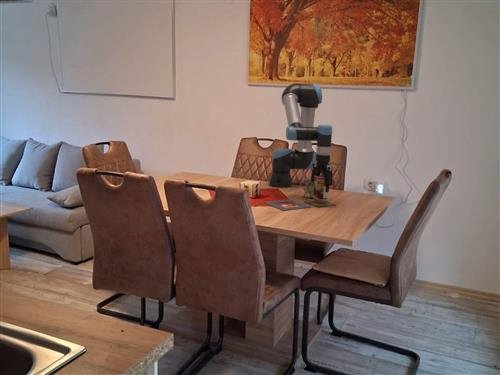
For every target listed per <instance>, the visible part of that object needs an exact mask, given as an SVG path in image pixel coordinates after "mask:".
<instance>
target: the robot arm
mask: <svg viewBox="0 0 500 375" xmlns="http://www.w3.org/2000/svg"><path fill="white" fill-rule="evenodd" d="M322 101H323V91H322V87H321V85H319V84H317V83H316V84H315V83H297V82H296V83H291V84H289V85H288V86H286V87H285V88H284V90H283V91H282V94H281V102H282V103H281V104H282V105H283V106H284V110H285V115H286V120H287V124H288V126H287V127H286V129H285V138H286V140H288V141H293V142H294V141H297V146H296V147H295V148H294V150H292V148H278V149H275V150H273V152H272V153H273V154H272V166H271V170H272V171H271V175H270V178H269V181H268V186H270V187H274V188H290V187H293V180H292V176H291V170H303V171H305V170H311V176H310V178H311V181H313V188H314V179H313V178H314V176H315V175H316V176H320V175H323V177H324V178H325V179H324V182H325V185H324V193H323V198H329V192H330V186H333V184H334V183H333V168H334V167H333V166H330V164H329V162H330V161H331V153H332V151H331V150H332V138H333V137H332V136H333V126H332V125H331V124H318V126H315V116H316V109H319V105H322ZM299 108H300V110H299ZM313 142H316V151H314V148H313V147H312V145H313Z"/></svg>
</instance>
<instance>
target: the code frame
mask: <svg viewBox="0 0 500 375" xmlns="http://www.w3.org/2000/svg"><path fill="white" fill-rule="evenodd" d="M284 203H287V204H284ZM263 204H265V205H268V206H270V207H273V208H276V209H277V210H279V211H283V212H287V211H295V210H296V211H297V210H302V209H311V208H312V205H309V204H306V203H304V202H299V201H297V200H294V199H292V198H290V199H282V200H273V201H271V200H270V201H264V202H263ZM279 204H280V205H279ZM293 204H294V205H295V206H293ZM296 205H297V206H296Z"/></svg>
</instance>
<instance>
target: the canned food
mask: <svg viewBox="0 0 500 375" xmlns="http://www.w3.org/2000/svg"><path fill="white" fill-rule="evenodd" d="M324 179H325V178H324V177H323V174H320V176H316V175H315V176H314V188H313V198H312V199H313V200H325V201H327V200H328V198H329V197H328V198H323V193H324V185H325V182H324Z"/></svg>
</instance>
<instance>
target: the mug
mask: <svg viewBox="0 0 500 375" xmlns="http://www.w3.org/2000/svg"><path fill="white" fill-rule="evenodd" d="M313 179H314V178H313ZM302 182H304V184H305V187H303V185H302ZM299 184H300V187H301V188H302V189H303V190H304V192H303V193H304V194H303V197H305V198H307V199H314V198H313V181H311V177H304V178H303V179H301V180H300V181H299Z"/></svg>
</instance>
